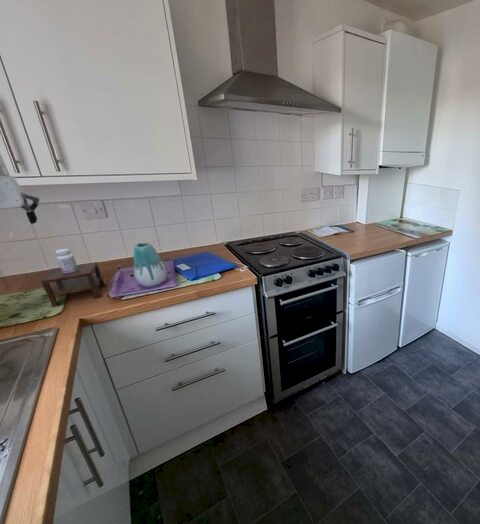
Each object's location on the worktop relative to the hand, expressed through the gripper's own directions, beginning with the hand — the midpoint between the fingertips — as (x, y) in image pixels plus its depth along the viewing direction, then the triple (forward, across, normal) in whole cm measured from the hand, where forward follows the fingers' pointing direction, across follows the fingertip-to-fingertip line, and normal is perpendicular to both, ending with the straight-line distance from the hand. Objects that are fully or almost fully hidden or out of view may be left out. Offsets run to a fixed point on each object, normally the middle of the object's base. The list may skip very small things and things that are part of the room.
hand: (14, 224), depth 102 cm
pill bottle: (+20, +9, +1) cm, 22 cm away
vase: (+31, +34, -1) cm, 46 cm away
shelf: (+30, +9, +1) cm, 32 cm away
